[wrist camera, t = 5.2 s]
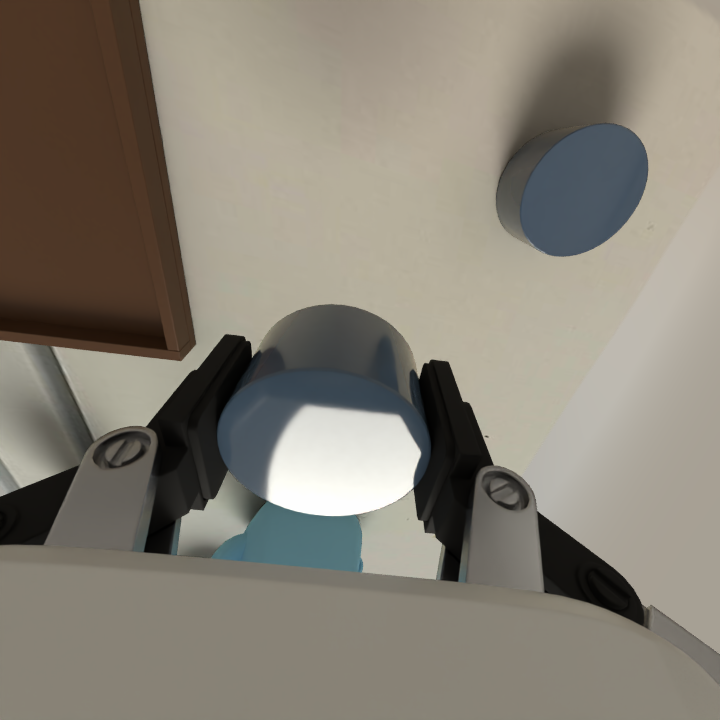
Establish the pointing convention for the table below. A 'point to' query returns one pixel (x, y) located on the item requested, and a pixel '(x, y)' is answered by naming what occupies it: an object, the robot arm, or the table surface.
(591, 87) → the table surface
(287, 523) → the teapot
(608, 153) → the blue-grey hockey puck
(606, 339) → the table surface
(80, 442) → the table surface
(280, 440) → the blue short cylinder
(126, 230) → the tray
